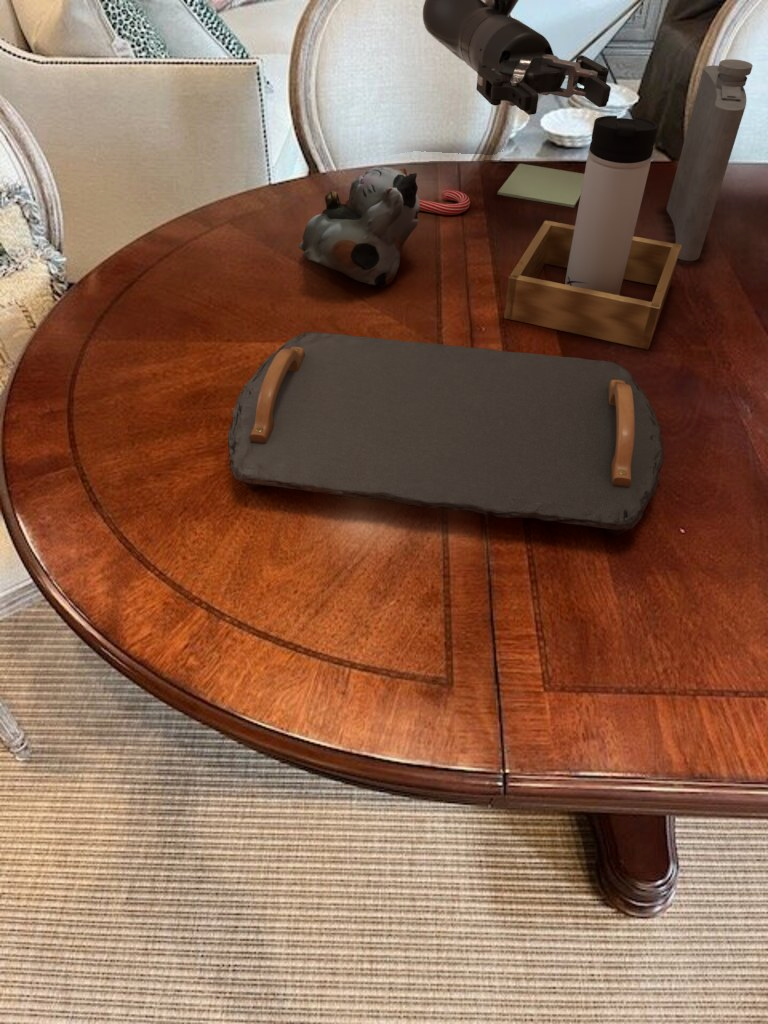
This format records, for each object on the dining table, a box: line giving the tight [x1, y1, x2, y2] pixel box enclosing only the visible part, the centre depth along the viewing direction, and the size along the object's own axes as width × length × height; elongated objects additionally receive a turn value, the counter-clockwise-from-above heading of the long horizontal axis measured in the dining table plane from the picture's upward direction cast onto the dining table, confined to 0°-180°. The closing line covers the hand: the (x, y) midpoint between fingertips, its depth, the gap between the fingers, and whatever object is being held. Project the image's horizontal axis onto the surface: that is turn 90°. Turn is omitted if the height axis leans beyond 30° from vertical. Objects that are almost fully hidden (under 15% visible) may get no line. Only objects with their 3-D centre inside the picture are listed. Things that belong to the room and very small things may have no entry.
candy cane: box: [419, 189, 471, 216], centre depth 108 cm, size 6×15×2 cm, turn 68°
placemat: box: [496, 163, 585, 208], centre depth 112 cm, size 11×11×1 cm
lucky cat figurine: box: [298, 166, 421, 288], centre depth 92 cm, size 15×12×14 cm
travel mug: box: [564, 115, 660, 296], centre depth 83 cm, size 6×7×20 cm
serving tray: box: [227, 331, 665, 537], centre depth 71 cm, size 39×23×6 cm, turn 80°
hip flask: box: [666, 58, 754, 262], centre depth 95 cm, size 16×4×20 cm, turn 169°
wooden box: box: [503, 220, 682, 350], centre depth 88 cm, size 16×15×5 cm
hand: (570, 101), depth 85 cm, fingers open, 8 cm apart
